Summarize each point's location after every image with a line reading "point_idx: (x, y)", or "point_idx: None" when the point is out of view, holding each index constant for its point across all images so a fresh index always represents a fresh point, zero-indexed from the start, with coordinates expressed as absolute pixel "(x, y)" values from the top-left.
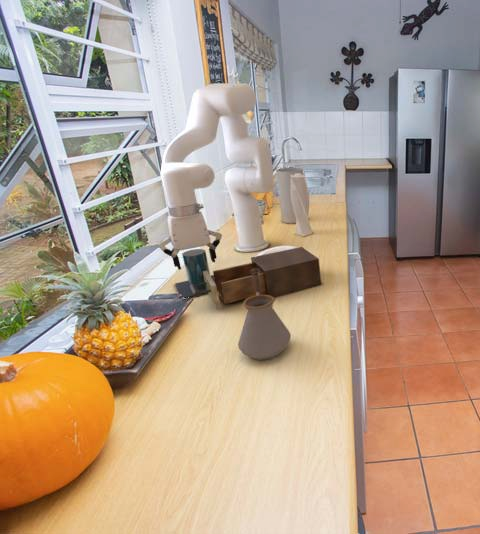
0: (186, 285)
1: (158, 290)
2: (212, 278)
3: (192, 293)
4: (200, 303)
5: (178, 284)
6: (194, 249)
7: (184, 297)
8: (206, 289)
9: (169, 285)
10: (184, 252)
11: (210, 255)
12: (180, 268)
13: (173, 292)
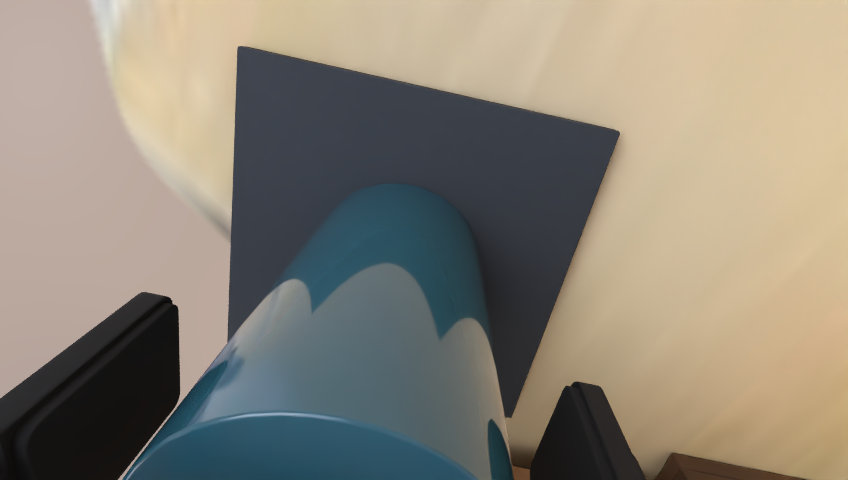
0: (306, 177)
1: (104, 50)
2: (522, 201)
3: None
4: None
5: (256, 101)
6: (392, 447)
7: None
8: None
9: (197, 3)
10: (166, 461)
11: (574, 471)
12: (168, 405)
13: (206, 192)
